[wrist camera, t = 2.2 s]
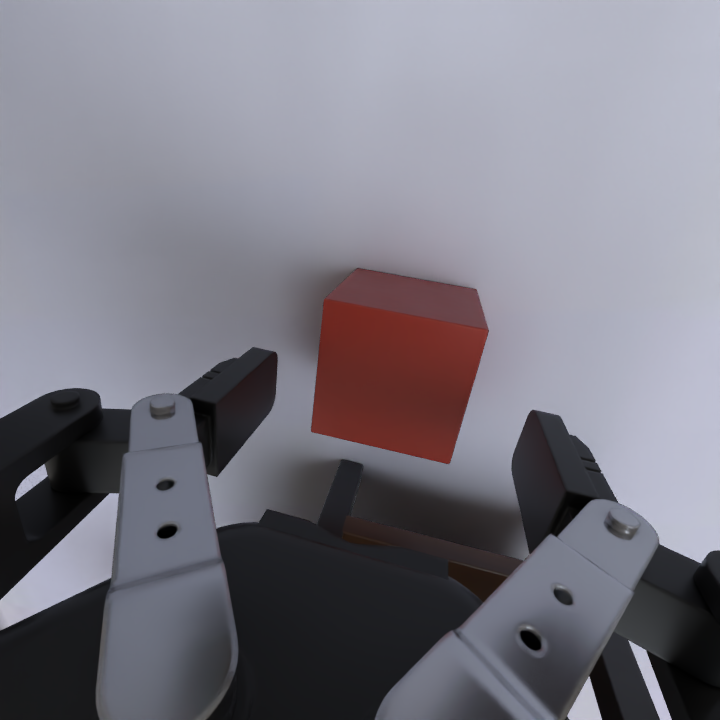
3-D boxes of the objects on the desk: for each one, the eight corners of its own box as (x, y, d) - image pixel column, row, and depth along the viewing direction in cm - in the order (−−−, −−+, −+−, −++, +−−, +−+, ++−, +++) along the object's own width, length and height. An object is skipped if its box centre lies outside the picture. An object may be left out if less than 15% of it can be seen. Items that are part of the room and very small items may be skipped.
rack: (341, 458, 21) (246, 708, 11) (578, 516, 19) (719, 864, 9) (325, 572, 24) (243, 833, 15) (522, 627, 23) (579, 958, 13)
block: (356, 267, 16) (323, 298, 12) (477, 288, 16) (489, 329, 11) (343, 372, 19) (310, 432, 14) (448, 395, 18) (449, 465, 14)
